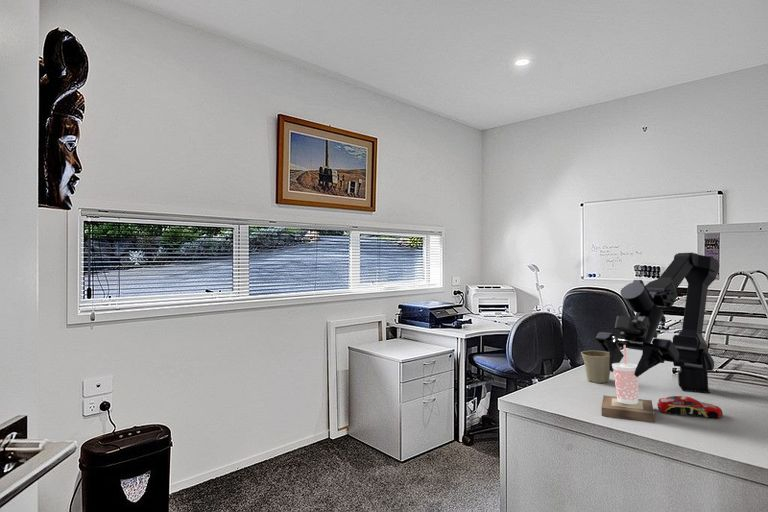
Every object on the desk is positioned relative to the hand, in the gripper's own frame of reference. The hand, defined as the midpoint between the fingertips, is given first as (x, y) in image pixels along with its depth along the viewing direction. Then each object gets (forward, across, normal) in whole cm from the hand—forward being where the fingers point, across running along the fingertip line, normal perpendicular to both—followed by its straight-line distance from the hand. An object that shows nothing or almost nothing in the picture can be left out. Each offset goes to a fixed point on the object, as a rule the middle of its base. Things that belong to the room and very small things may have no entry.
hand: (622, 373), depth 111 cm
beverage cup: (+4, 0, +6) cm, 8 cm away
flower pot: (-8, -22, +23) cm, 33 cm away
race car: (-1, +9, +16) cm, 18 cm away
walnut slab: (+6, 0, +8) cm, 10 cm away
